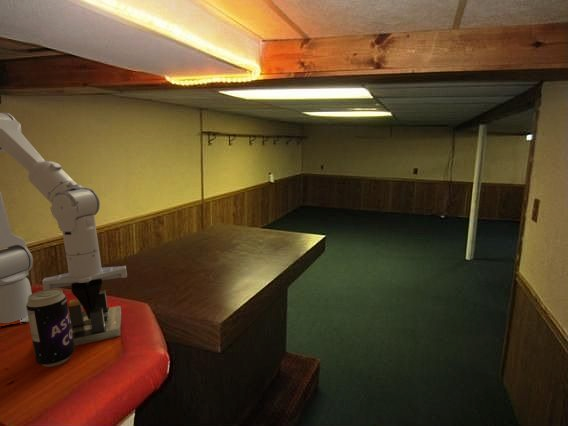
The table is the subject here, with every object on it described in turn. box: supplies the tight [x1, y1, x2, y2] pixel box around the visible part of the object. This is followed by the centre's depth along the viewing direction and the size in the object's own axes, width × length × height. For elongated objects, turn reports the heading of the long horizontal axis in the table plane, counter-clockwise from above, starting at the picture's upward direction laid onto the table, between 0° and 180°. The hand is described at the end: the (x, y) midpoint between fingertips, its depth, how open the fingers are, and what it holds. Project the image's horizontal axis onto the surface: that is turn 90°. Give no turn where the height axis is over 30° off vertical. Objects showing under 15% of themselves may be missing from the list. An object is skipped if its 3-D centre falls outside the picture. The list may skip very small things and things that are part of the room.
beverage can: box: [26, 287, 75, 368], centre depth 63 cm, size 6×6×12 cm
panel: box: [33, 289, 122, 353], centre depth 74 cm, size 13×14×6 cm
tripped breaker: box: [68, 298, 84, 326], centre depth 74 cm, size 2×2×5 cm
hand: (92, 316), depth 75 cm, fingers closed
